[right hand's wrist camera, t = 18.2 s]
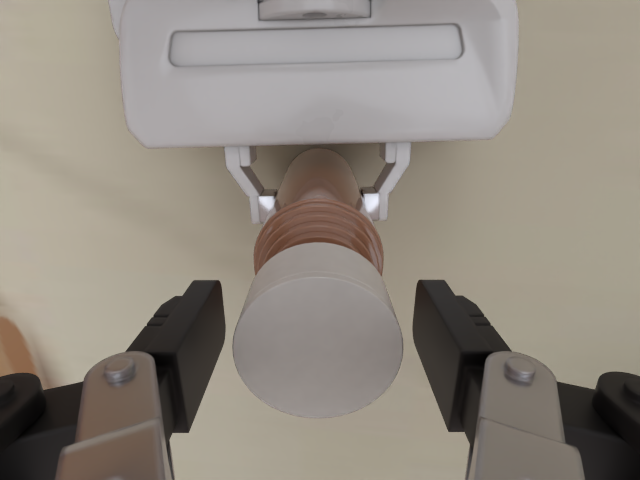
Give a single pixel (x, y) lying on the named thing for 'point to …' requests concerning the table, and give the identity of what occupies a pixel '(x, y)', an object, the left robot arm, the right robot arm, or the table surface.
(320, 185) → the bottle
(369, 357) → the cap
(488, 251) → the table surface
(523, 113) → the table surface
